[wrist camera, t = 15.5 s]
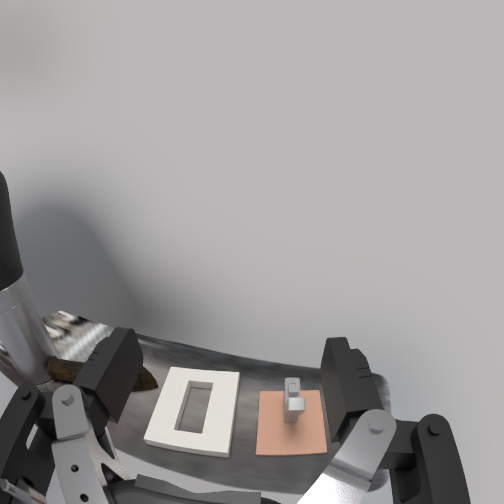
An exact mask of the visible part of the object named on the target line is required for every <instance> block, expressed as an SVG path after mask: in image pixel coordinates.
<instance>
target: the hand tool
mask: <svg viewBox="0 0 504 504" xmlns="http://www.w3.org/2000/svg"><path fill="white" fill-rule="evenodd" d="M84 364H85V362H84V363H83V362H76V361H69V360H63V359H58V357H56V356H53V357H52V358H51V359H50V360H49V361H48V369H47V372H48V374H49V376H50V377H52V379H53V380H54V381H57V380H60V381H61V382H64V380H65V381H71V382H74V380H75V379H76V377H77V375H78V374H79V372H80V370H81V369H82V367H83V366H84ZM157 387H158V385H157V382H156V380H155V378H154V377H153V376H152V374H151V373H150V372H149V371H148V370H147V369H146V368H145V367H143V366H142V368H141V370H140V372H139V375H138V377H137V379H136V381H135V383H134V386H133V388H132V390H131V391H143V390H149V389H153V388H157Z"/></svg>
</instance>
